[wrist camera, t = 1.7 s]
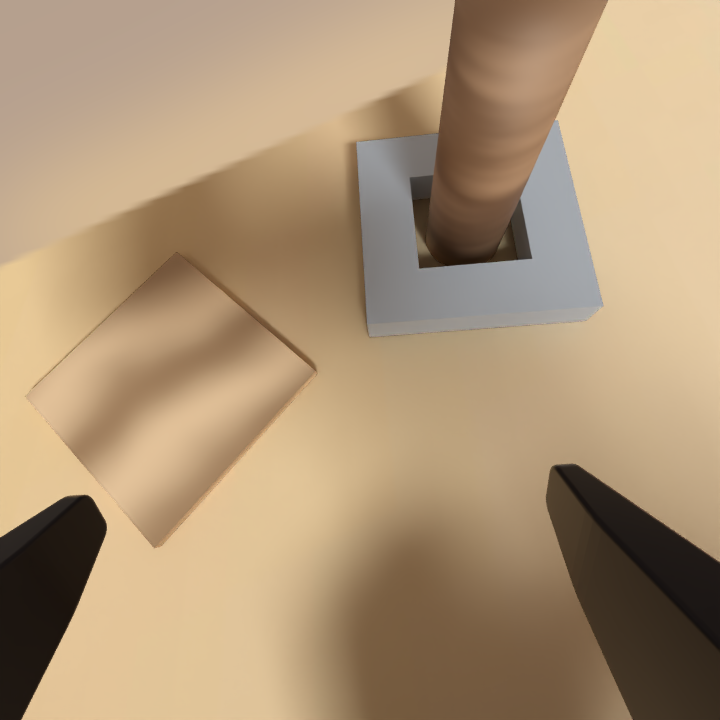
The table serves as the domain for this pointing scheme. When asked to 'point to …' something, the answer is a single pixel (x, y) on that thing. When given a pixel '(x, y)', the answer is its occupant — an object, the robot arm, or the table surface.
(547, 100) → the walnut dowel
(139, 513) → the wooden coaster
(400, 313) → the holder block
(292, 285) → the table surface
